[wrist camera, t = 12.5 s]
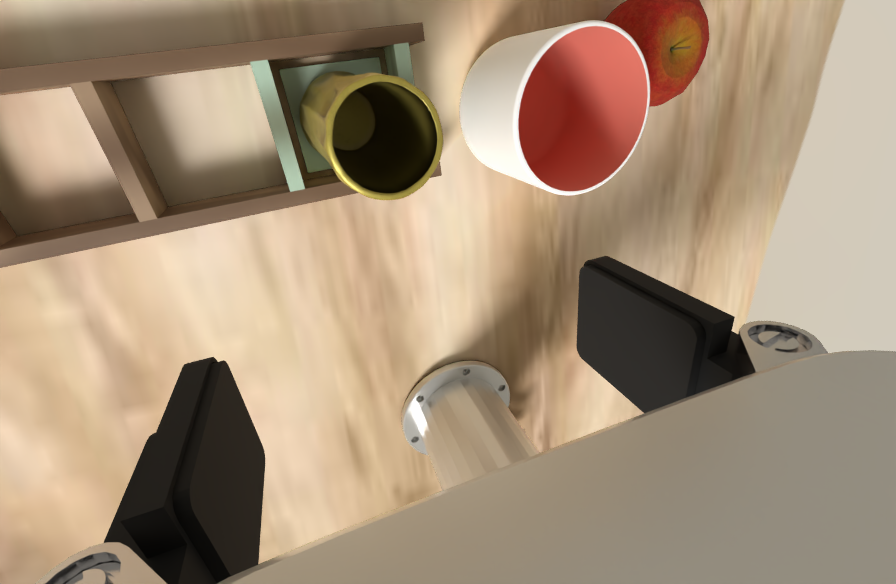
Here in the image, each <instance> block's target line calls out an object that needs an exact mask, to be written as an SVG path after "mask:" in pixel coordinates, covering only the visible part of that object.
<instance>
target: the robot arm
mask: <svg viewBox="0 0 896 584" xmlns="http://www.w3.org/2000/svg"><path fill="white" fill-rule="evenodd" d="M734 318H735V317H734V316H731V315H729V314H727V313H725V312H723V311H721V310H719V309H717V308H715V307H713V306H711V305H709V304H706V303H704V302H702V301H700V300H698V299H696V298H694V297H692V296H690V295H688V294H686V293H683V292H681V291H679V290H677V289H675V288H673V287H671V286H669V285H667V284H665V283H663V282H661V281H658V280H656V279H654V278H652V277H650V276H648V275H646V274H644V273H642V272H640V271H638V270H635V269H633V268H631V267H629V266H627V265H625V264H623V263H621V262H619V261H617V260H615V259H613V258H610V257H608V256H604V257H600V258H596V259H592V260H588V261H586V262H585V264H584V267H582V268H581V270H580V275H579V300H578V324H577V351H578V353H579V355H580V357H581V358H582V359H583V360H584V361H585V362H586V363H587V364H589V365H590V366H591V367H592V368H593V369H594V370H595V371H597V372H598V373H599V374H600V375H601V376H602V377H604V378H605V379H606V380H607V381H608V382H609V383H610V384H612V385H613V386H614V387H615V388H616V389H617V390H618V391H620V392H621V393H622V394H623V395H624V396H625V397H626V398H628V399H629V400H630V401H631V402H632V403H633V404H634V405H636V406H637V407H638V408H639V409H640V410H641V411H643V412H644V414H642V415H639V416H636V417H634V418H631V419H628V420H626V421H623V422H620V423H618V424H615V425H612V426H610V427H607V428H604V429H602V430H599V431H596V432H594V433H591V434H589V435H586V436H583V437H581V438H578V439H575V440H573V441H570V442H568V443H565V444H562V445H560V446H557V447H554V448H552V449H549V450H547V451H544V452H541V453H540V452H539V451H538V449H537V448H536V447H535V445H534V444H533V442H532V441H531V440H530V438H529V437H528V435H527V434H526V431H525V429H523V428H522V427H521V425H520V424H519V423H518V421H517V420H516V418H515V417H514V416H513V414H512V413H511V411H510V410H509V408H508V407H509V402H510V391H509V387H508V384H507V382H506V380H505V378H504V377H503V376H502V375H501V373H500V372H499V371H498V370H497V369H495V368H494V367H493V366H491V365H489V364H487V363H484V362H479V361H460V362H455V363H452V364H449V365H445V366H443V367H441V368H439V369H437V370H435V371H434V372H432V373H431V374H429V375H428V376H426V377H425V378H424V379H423V380H422V381H421V382H419V383H418V384H417V385H416V387H415V388H414V389H413V390H412V392H411V393H410V395H409V396H408V398H407V400H406V402H405V404H404V407H403V410H402V417H401V423H402V429H403V432H404V435H405V438H406V439H407V441H408V443H409V444H410V445H411V446H412V447H413V448H414V449H415V450H417V451H418V452H420V453H422V454H425V455H429V458H430V460H431V463H432V465H433V468H434V470H435V473H436V475H437V478H438V480H439V483H440V485H441V488H442V490H443V491H440V492H438V493H435V494H432V495H430V496H427V497H425V498H422V499H420V500H417V501H414V502H412V503H409V504H407V505H404V506H402V507H399V508H396V509H394V510H391V511H389V512H386V513H384V514H381V515H378V516H376V517H373V518H371V519H368V520H366V521H363V522H361V523H358V524H356V525H353V526H350V527H348V528H345V529H343V530H340V531H338V532H335V533H333V534H330V535H328V536H325V537H323V538H320V539H318V540H315V541H313V542H310V543H308V544H305V545H303V546H301V547H298V548H296V549H293V550H291V551H289V552H286V553H284V554H282V555H279V556H277V557H275V558H272V559H270V560H268V561H265V562H263V563H261V564H258V560H259V545H260V531H261V516H262V501H263V487H264V472H265V454H264V449H263V446H262V443H261V441H260V439H259V436H258V434H257V432H256V429H255V427H254V425H253V422H252V420H251V418H250V415H249V413H248V411H247V408H246V406H245V403H244V401H243V399H242V396H241V394H240V392H239V389H238V387H237V385H236V382H235V380H234V378H233V375H232V373H231V371H230V368H229V366H228V364H227V363H226V361H220V362H217V360H216V359H215V358H214V357H211V358H207V359H203V360H199V361H195V362H191V363H187V364H184V366H183V368H182V370H181V373H180V375H179V378H178V380H177V383H176V385H175V387H174V390H173V392H172V395H171V397H170V400H169V402H168V405H167V407H166V410H165V412H164V415H163V417H162V419H161V422H160V424H159V427H158V429H157V432H156V433H154V434H152V435H151V436H150V437H149V438H148V440H147V442H146V444H145V446H144V449H143V451H142V453H141V456H140V458H139V460H138V463H137V465H136V468H135V470H134V472H133V475H132V477H131V479H130V482H129V484H128V486H127V489H126V491H125V493H124V496H123V498H122V501H121V503H120V505H119V508H118V510H117V512H116V515H115V517H114V519H113V522H112V524H111V526H110V529H109V531H108V534H107V536H106V538H105V541H104V543H102V544H99V545H95V546H92V547H89V548H87V549H85V550H83V551H80V552H78V553H76V554H74V555H72V556H70V557H69V558H68V559H66V560H65V561H63V562H62V563H60V564H59V565H57V566H56V567H54V568H53V569H51V570H50V571H49V572H48V573H47V574H46V575H45V576H43V577H42V578H41V579H40V580H39V581H38V582H37V583H35V584H896V352H893V351H874V350H871V351H843V352H835V353H828V352H827V351H826V349H825V348H824V347H823V345H822V344H821V342H820V341H819V340H818V339H817V338H816V337H815V336H814V335H812V334H810V333H809V332H807V331H805V330H803V329H800V328H798V327H795V326H792V325H788V324H784V323H779V322H773V321H755V322H749V323H747V324H744V325H743V326H742V327H741V328H740V330H739V334H736V333H734V332H732V331H731V330H732V326H733V322H734Z"/></svg>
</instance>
